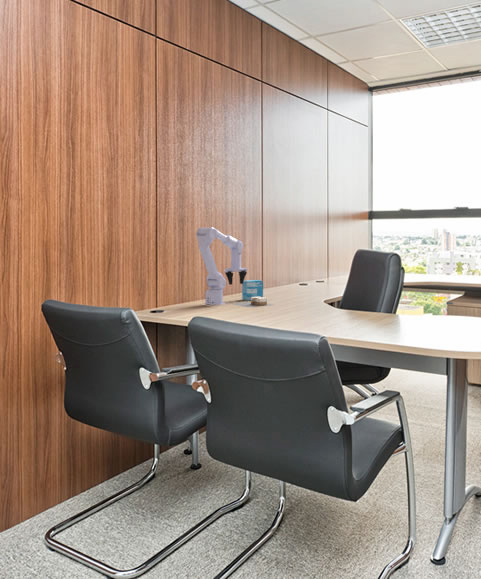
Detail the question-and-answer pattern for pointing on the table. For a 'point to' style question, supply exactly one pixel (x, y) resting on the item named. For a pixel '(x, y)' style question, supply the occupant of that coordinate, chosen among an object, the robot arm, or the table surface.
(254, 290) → the data package
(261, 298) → the metal box
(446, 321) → the table surface
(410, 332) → the table surface
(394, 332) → the table surface
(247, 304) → the desk mat
